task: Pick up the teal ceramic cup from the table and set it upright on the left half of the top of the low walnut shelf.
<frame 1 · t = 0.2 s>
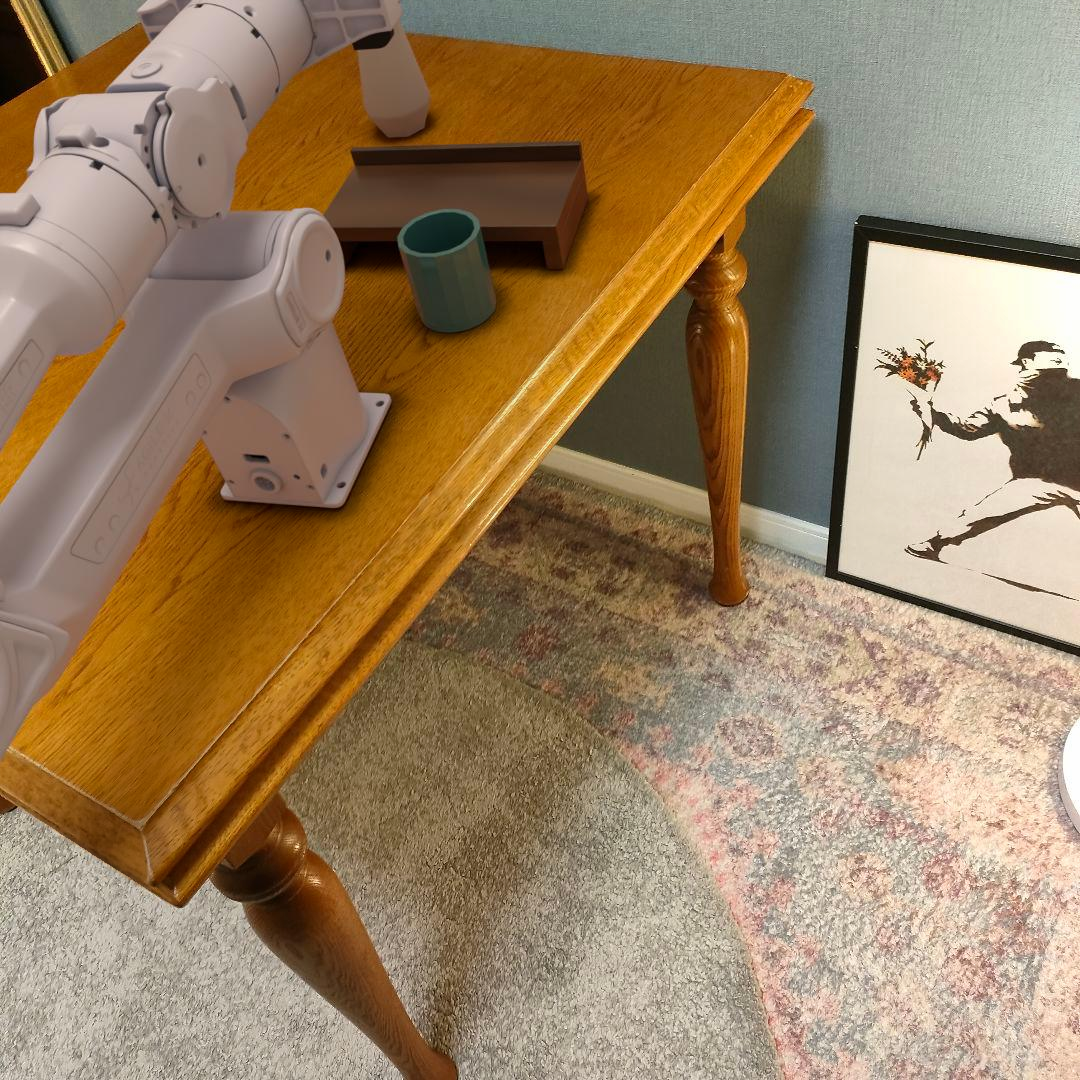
shelf: (459, 233, 75), on the table
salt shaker: (404, 128, 88), on the table
cup: (458, 308, 69), on the table
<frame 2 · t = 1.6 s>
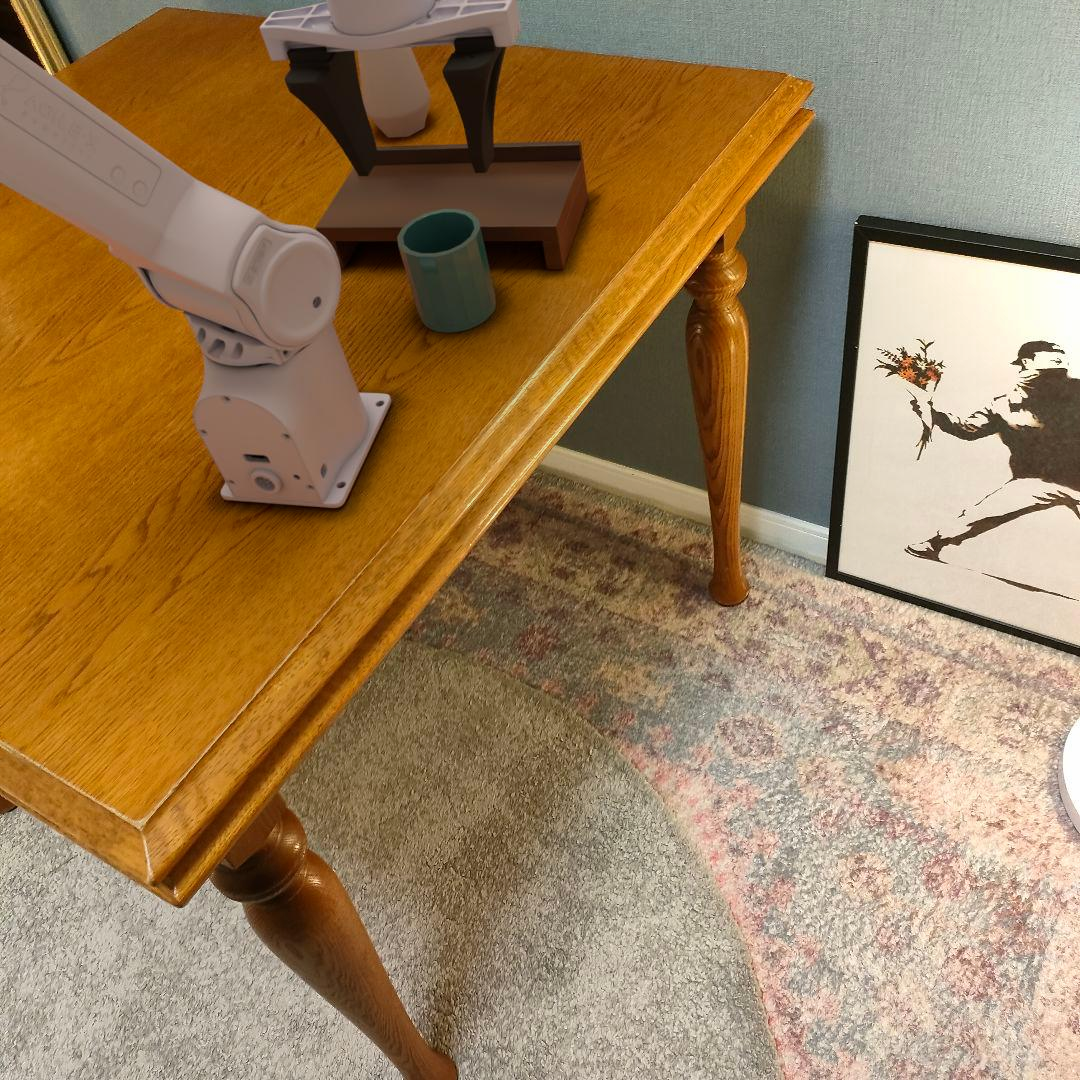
hand: (425, 165, 61), 10 cm above the table, tool pointing down, fingers open, 7 cm apart
nothing on the table moved.
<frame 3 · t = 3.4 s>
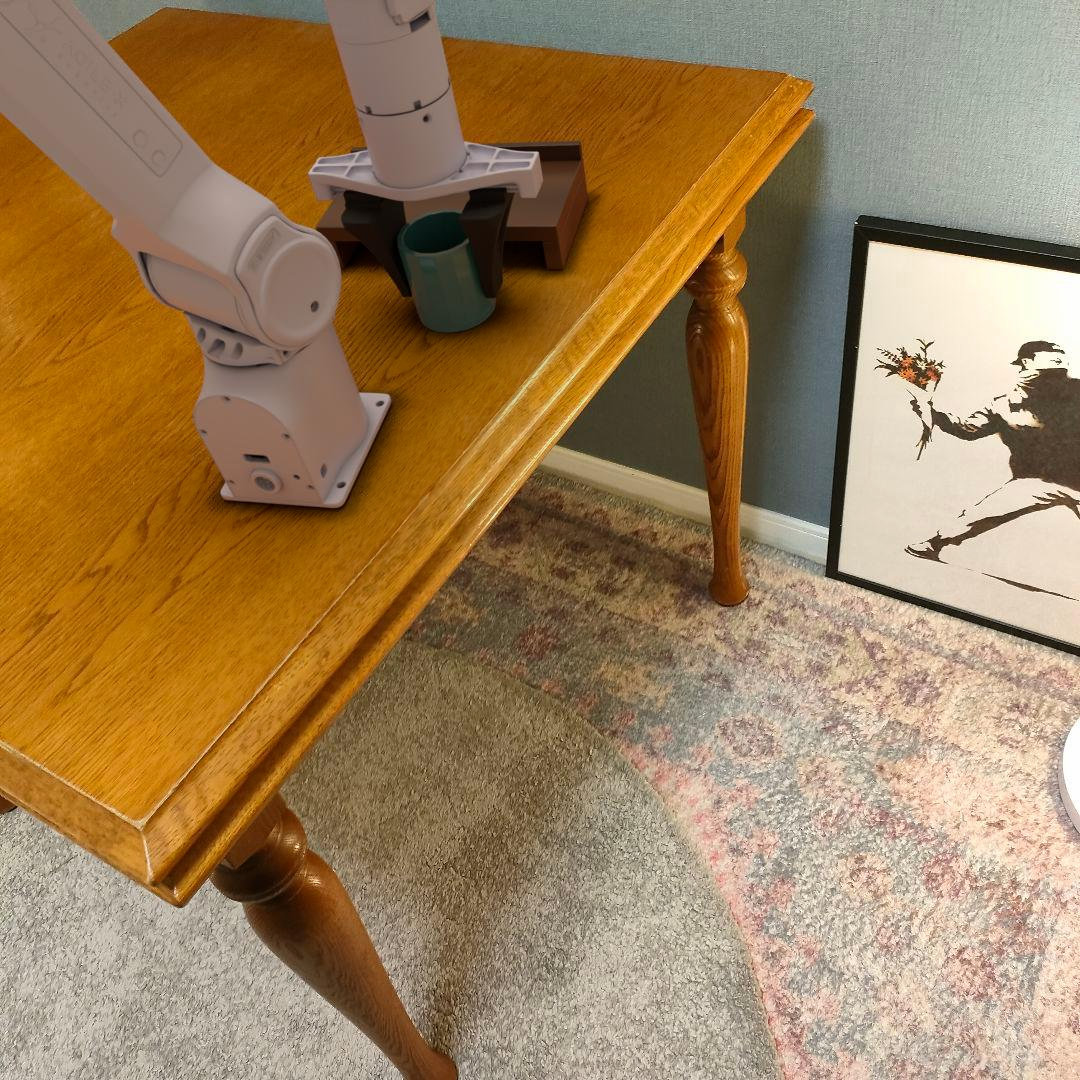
hand: (453, 288, 68), 2 cm above the table, tool pointing down, fingers closed on cup, 5 cm apart
cup: (457, 308, 69), on the table, touching gripper
everything else where it was.
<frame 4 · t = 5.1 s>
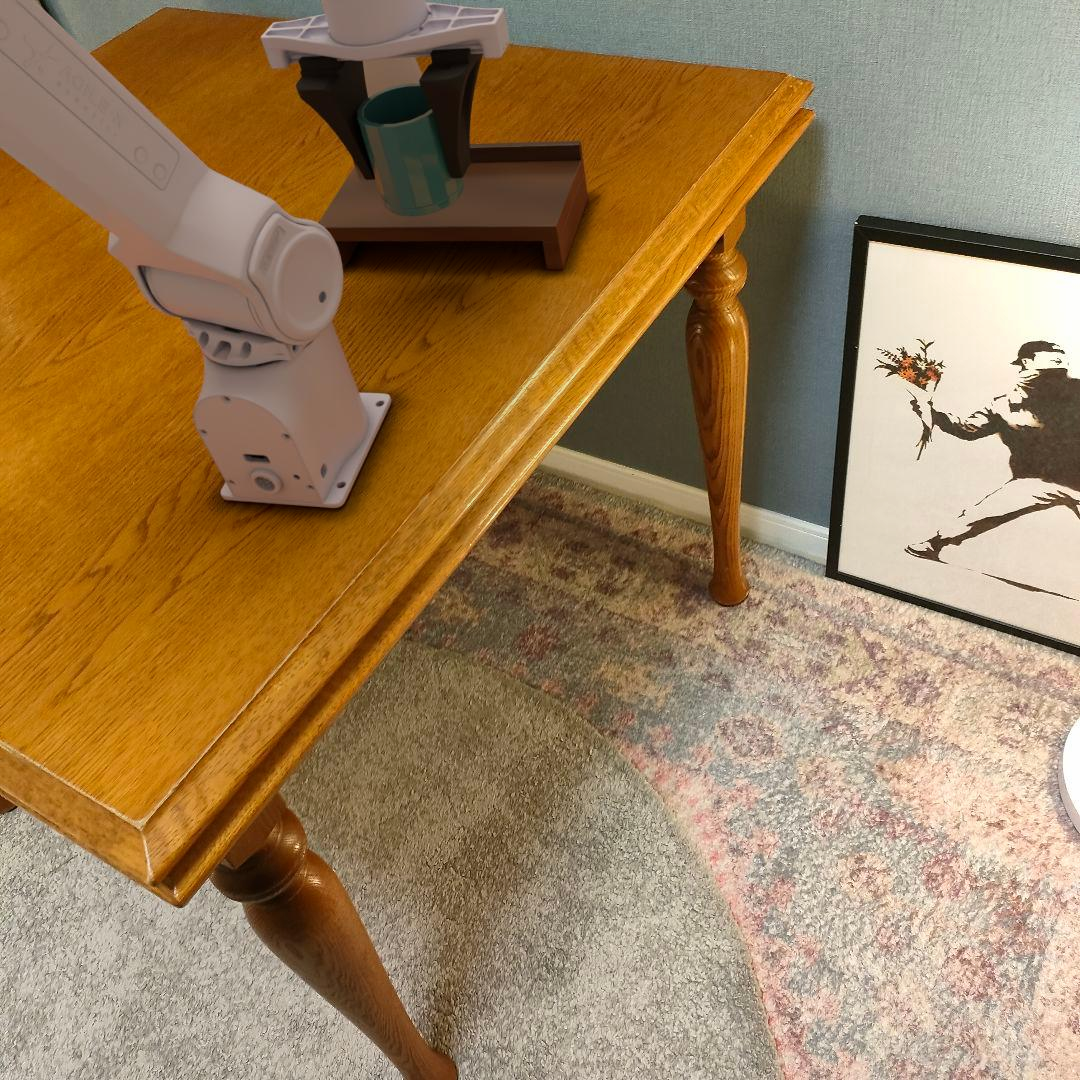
hand: (418, 170, 64), 9 cm above the table, tool pointing down, fingers closed on cup, 5 cm apart
cup: (423, 193, 65), point 7 cm above the table, touching gripper
everything else where it was.
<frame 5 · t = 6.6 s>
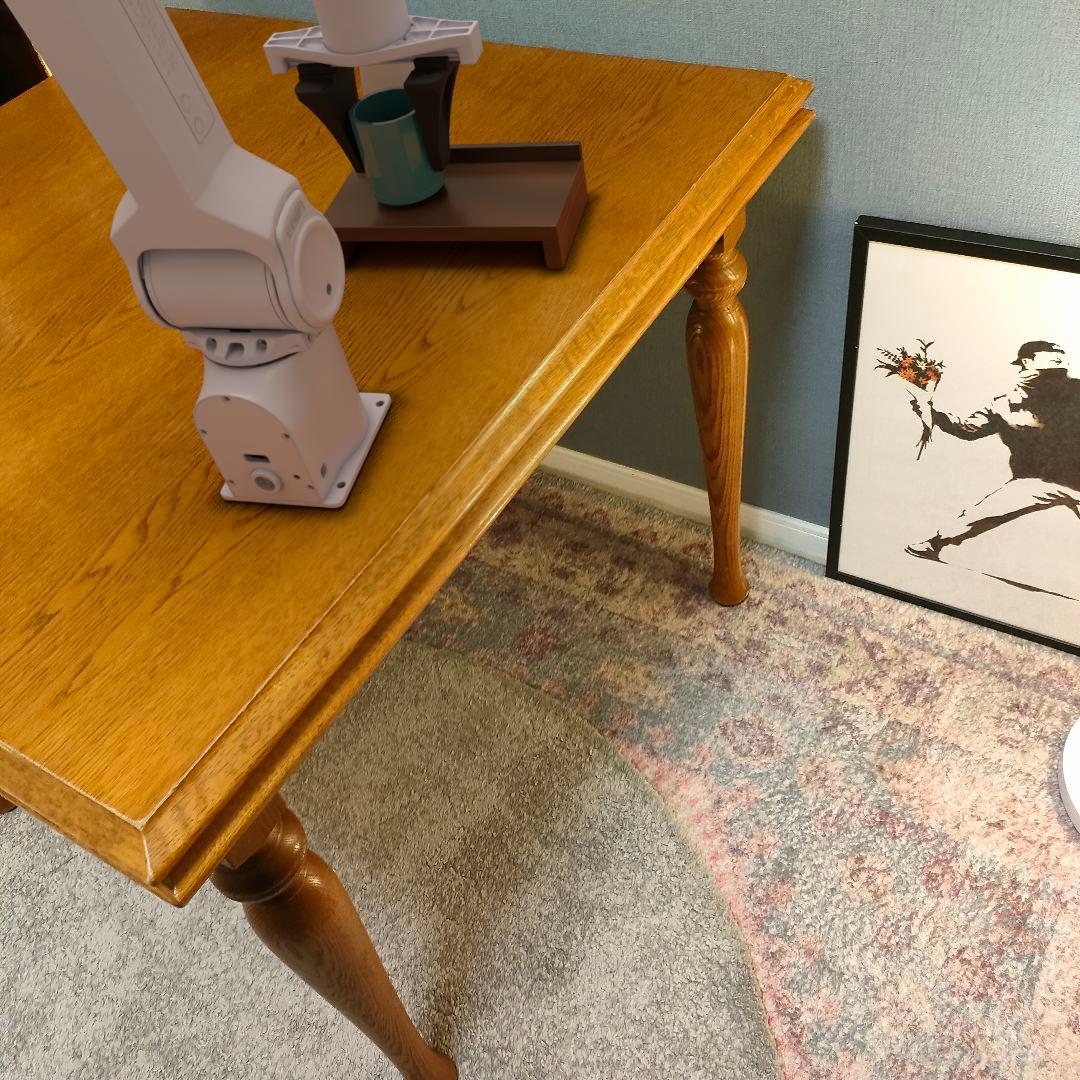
hand: (403, 165, 72), 6 cm above the table, tool pointing down, fingers closed on cup, 5 cm apart
cup: (408, 185, 73), point 4 cm above the table, touching gripper
everything else where it was.
when the fingers open (5 cm above the table, at t = 7.3 s): cup stays where it is, resting on shelf.
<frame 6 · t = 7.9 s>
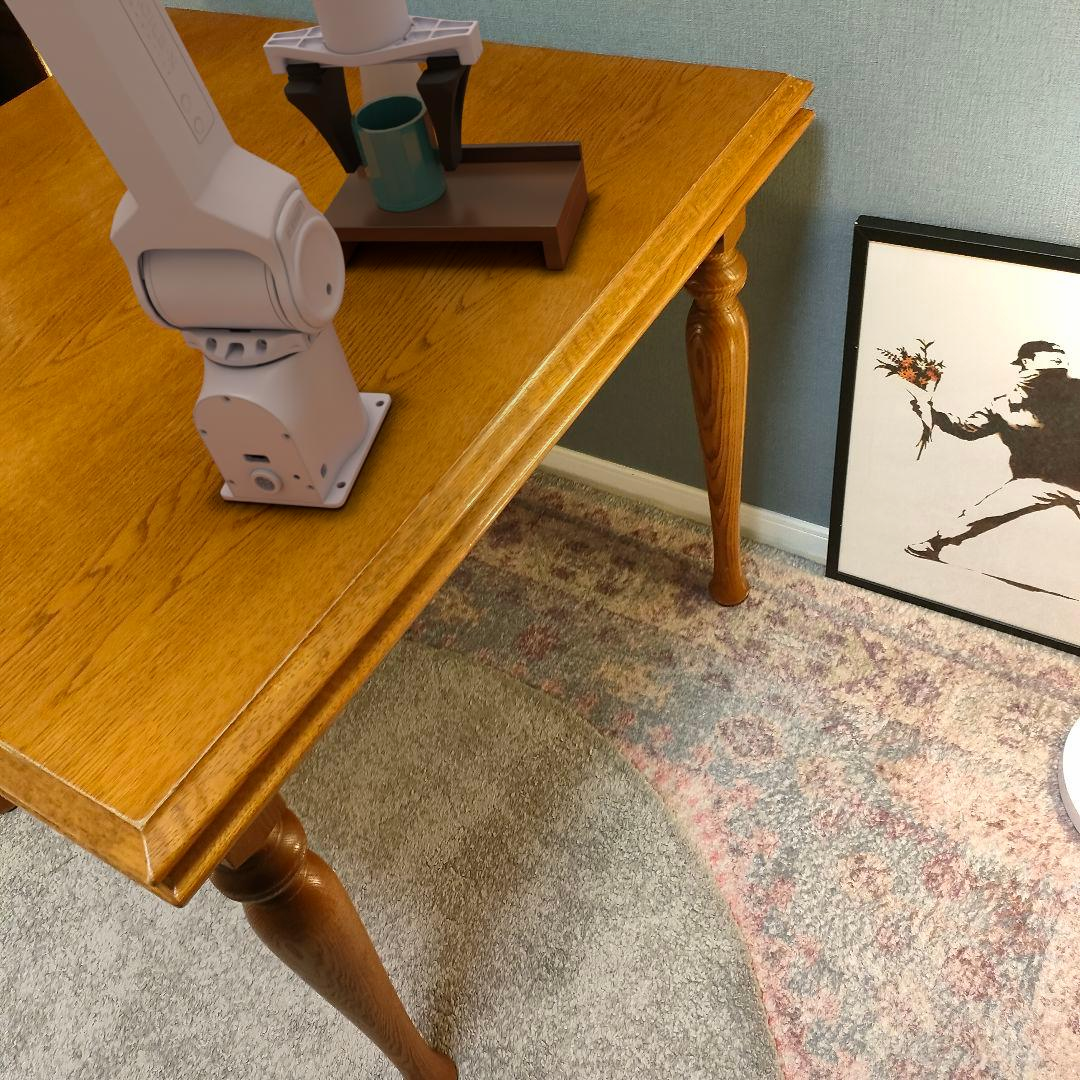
hand: (403, 165, 72), 6 cm above the table, tool pointing down, fingers open, 7 cm apart
cup: (410, 191, 73), point 3 cm above the table, touching shelf
everything else where it was.
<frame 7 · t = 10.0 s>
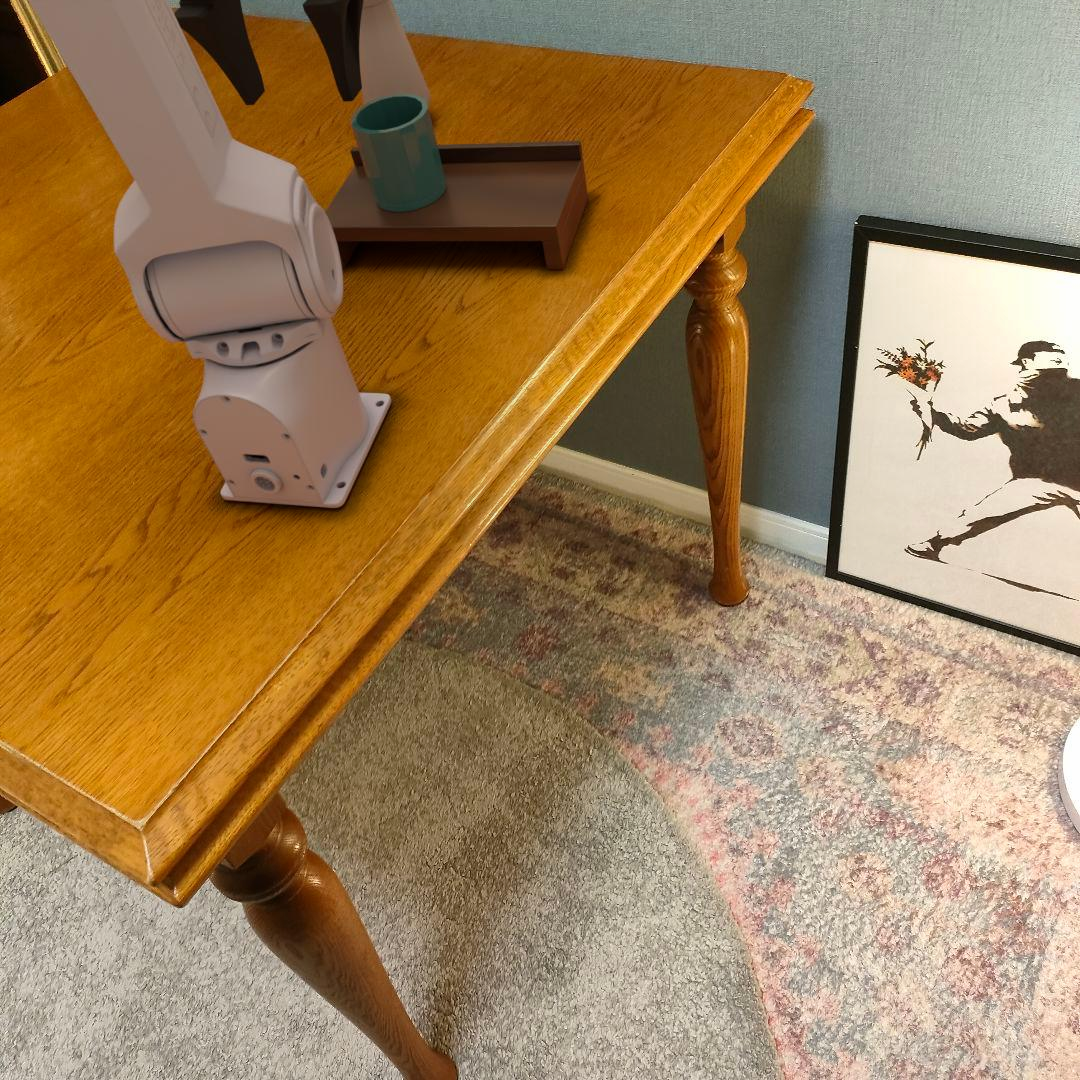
hand: (303, 96, 70), 10 cm above the table, tool pointing down, fingers open, 7 cm apart
nothing on the table moved.
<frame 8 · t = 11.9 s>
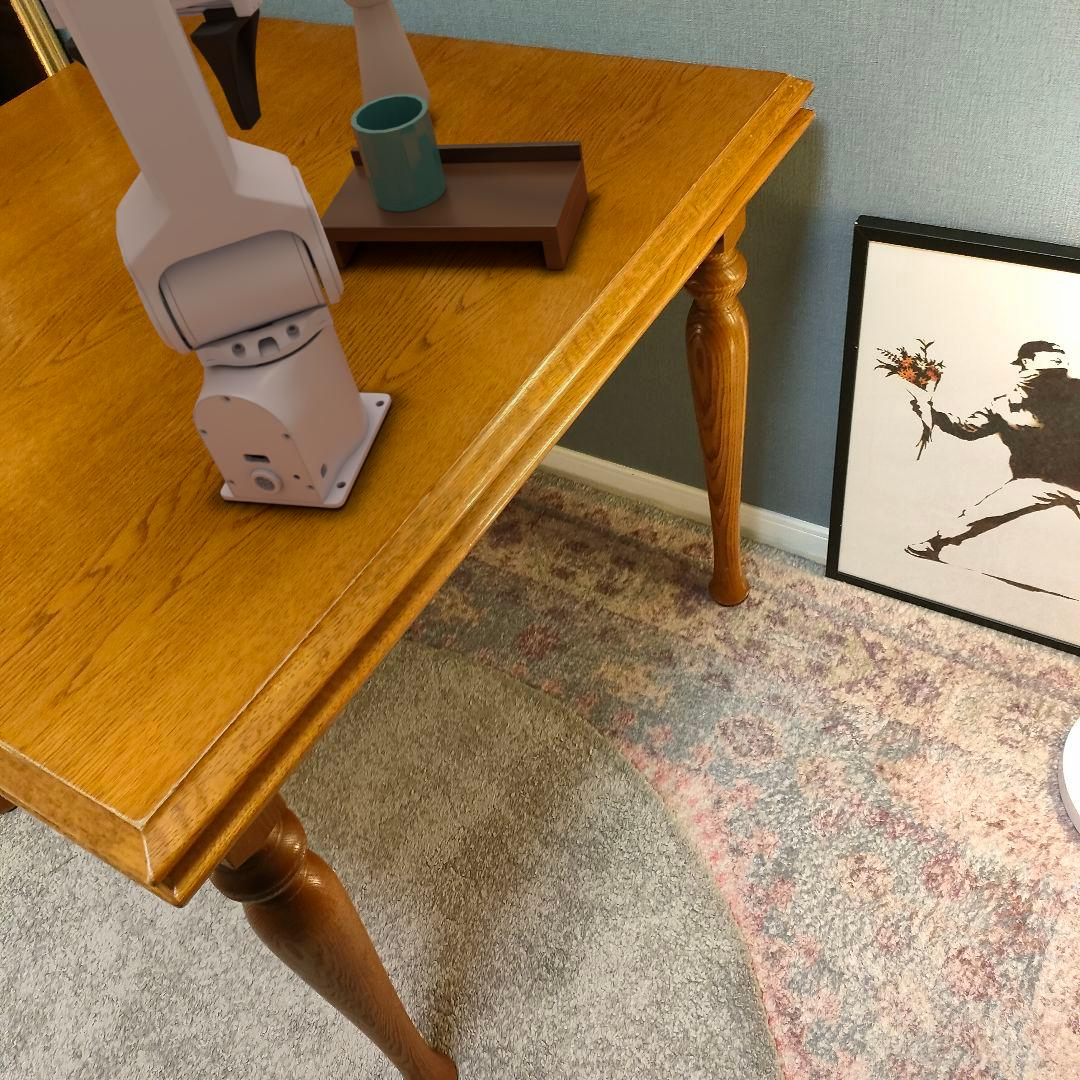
hand: (203, 124, 70), 10 cm above the table, tool pointing down, fingers open, 7 cm apart
nothing on the table moved.
at the end: cup inside the target area on the shelf (2.8 cm from its centre), point 3.5 cm above the shelf's base; cup tilted 0°; the gripper is holding nothing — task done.
